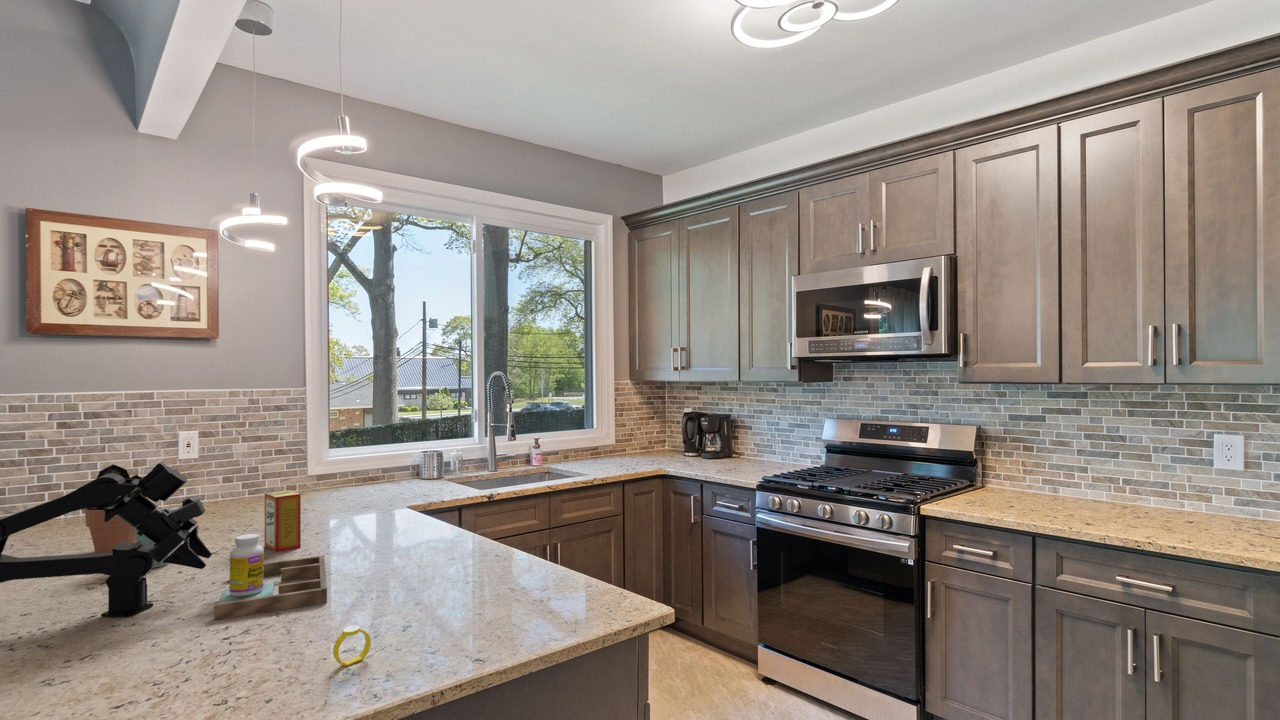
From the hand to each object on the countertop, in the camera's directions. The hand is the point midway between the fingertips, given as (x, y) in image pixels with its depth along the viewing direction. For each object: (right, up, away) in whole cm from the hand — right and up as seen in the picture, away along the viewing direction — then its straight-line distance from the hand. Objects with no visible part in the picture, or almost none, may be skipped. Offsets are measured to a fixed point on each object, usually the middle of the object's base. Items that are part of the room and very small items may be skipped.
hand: (207, 561), depth 144 cm
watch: (+47, -7, -32) cm, 58 cm away
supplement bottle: (+7, -8, +3) cm, 11 cm away
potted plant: (-55, -10, +42) cm, 70 cm away
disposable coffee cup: (-32, -10, +27) cm, 43 cm away
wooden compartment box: (+12, -9, +6) cm, 15 cm away
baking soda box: (-8, -10, +44) cm, 46 cm away
